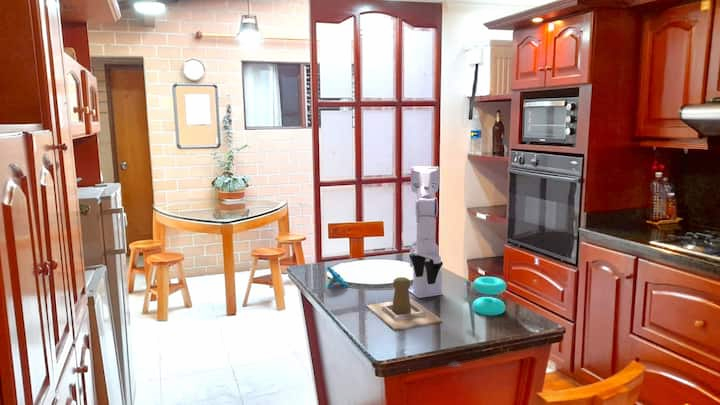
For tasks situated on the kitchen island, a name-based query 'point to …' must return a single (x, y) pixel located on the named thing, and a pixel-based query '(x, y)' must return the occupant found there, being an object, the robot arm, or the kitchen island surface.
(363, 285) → the kitchen island surface
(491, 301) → the donuts
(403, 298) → the cork
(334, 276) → the teal angled piece
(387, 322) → the socket board
